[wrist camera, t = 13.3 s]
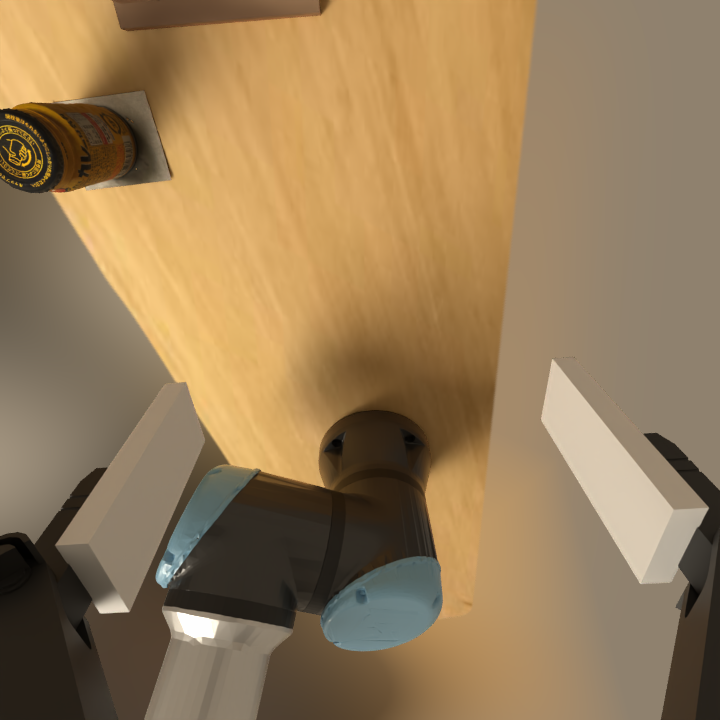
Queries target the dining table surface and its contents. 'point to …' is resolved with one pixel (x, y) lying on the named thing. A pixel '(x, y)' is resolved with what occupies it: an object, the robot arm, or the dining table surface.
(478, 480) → the dining table surface
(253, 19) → the socket base
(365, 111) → the dining table surface
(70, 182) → the condiment
